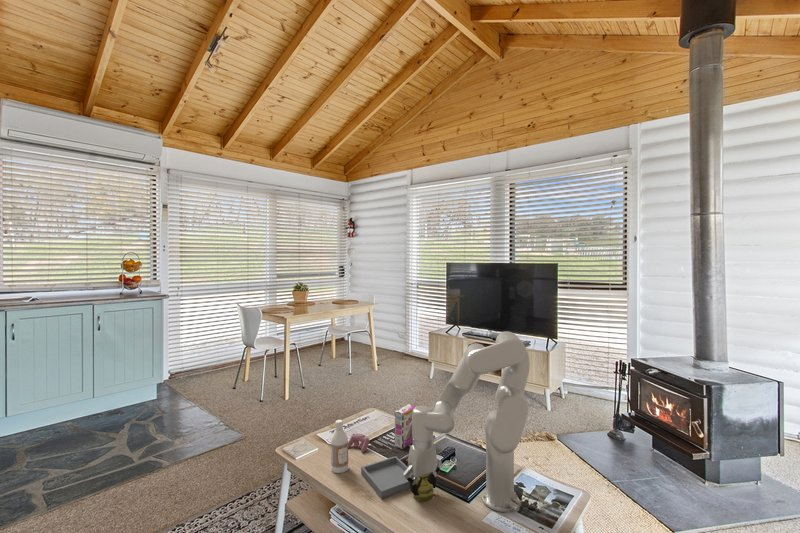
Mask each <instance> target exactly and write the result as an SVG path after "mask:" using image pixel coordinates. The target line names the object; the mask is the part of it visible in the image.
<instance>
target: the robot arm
mask: <svg viewBox="0 0 800 533" xmlns="http://www.w3.org/2000/svg"><path fill="white" fill-rule="evenodd" d="M494 342H495V343H494V344H491V345H488V346H484V345H483V344H482V343H477V342H475V343H471V344H470V345H468V347H467V348H466V349H465V351H464V352H463V355H462V356H461V359H460V360H459V362H458V364H457V366H456V368H455V370H454V371H453V374H452V376H451V377H450V379H449V380H448V382H447V383H446V385H445V386H444V388H443V390H442V391H441V393H440V394H439V397H438V398H437V400H436V403H435V405H434V406H433V407H434V408H433V409H432V408H431V407H430V406H428V405H417V406H416V407H415V408H414V409H413V411H412V443H411V444H412V445H411V444H410V445H409V446H410V447H409V451H408V461H407V467H408V468H407V469H406V471H405V472H404V473H403V476H404V477H405V478H406V479H407V480H408V481H409V482H410V489H409V490H410V493H412V494H414V495H415V496H416V495H417V484H416V481H417V478H418V477H419V478H420V476H423V475H425V474H428V473H430V475H429V476H428V479H429V480H431V481H432V483H433V489H436V486H437V485H436V484H437V478H438V473H439V471H441V470H440V469H441V468H442V465H443V462H442V461H441V460H440V459H438V458H437V450H436V446H435V443H434V440H435V439H436V435H435V434H434V433H439V434H449V433H451V432H452V431H453V430H454V428H455V421H456V420H455V411H456V409H457V407H458V405H459V404H460V402H461V400H462V399H463V397H464V396H465V395H467V394H470V393H472V392H473V390H474V388H475V387H476V385H477V383H478V381H479V379H480V377H481V375H482V376H483V375H486V374H491V373H493V372H497V371H499V370H502V373H501V377H500V380H499V384H498V386H497V389H496V392H495V395H494V397H495V403H496V405H497V409H494V410H492V411H489V413H487V415H486V418H485V422H484V433H485V454H486V455H485V471H486V472H485V473H486V474H485V475H486V477H485V481H486V482H485V483H486V484H485V487H486V488H485V489H484V490H483V491H482V493H481V499H482V502H483V504H484V505H486V507H488V508H489V509H491V510H493V511H496V512H501V513H508V512H512V511H515V512H516V513H517V512H519V510H520V507H521V506H522V502H521V501H520V500H519V497H518V495H517V492H516V491H515V450H516V449H517V448H518V446H519V444H520V441H521V438H522V435H523V433H524V429H525V426H526V422H527V420H528V415H529V404H528V401H527V399H526V397H525V390H526V387H527V386H526V385H527V382H528V379H529V378H528V377H529V375H530V374H529V373H530V369H531V368H530V367H531V366H530V364H531V363H530V357H529V354H528V350H527V348H526V346H525V344H524V342H523V341H522V340H521V339H520V338H519V336H517V334H515V333H514V332H511V331H508V330H507V331H501V332H499V334H498V335H497V337H496V338H495V341H494ZM411 472H412V473H411ZM410 473H411V475H410V477H409V474H410ZM413 477H414V479H413Z"/></svg>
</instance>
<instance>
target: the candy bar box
mask: <svg viewBox="0 0 800 533" xmlns="http://www.w3.org/2000/svg"><path fill="white" fill-rule="evenodd" d="M415 407H417V406H416V405H413V404H406V405H405V406H404V405H403V407H400V408H399V409H397V410H396V411H395V410H394V411H395V412H394V447H395V448H397V449H398V448H399V449H400V450H404V449H405V448H407V447H408V446H411V444H412V411H413V409H414V408H415Z"/></svg>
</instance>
